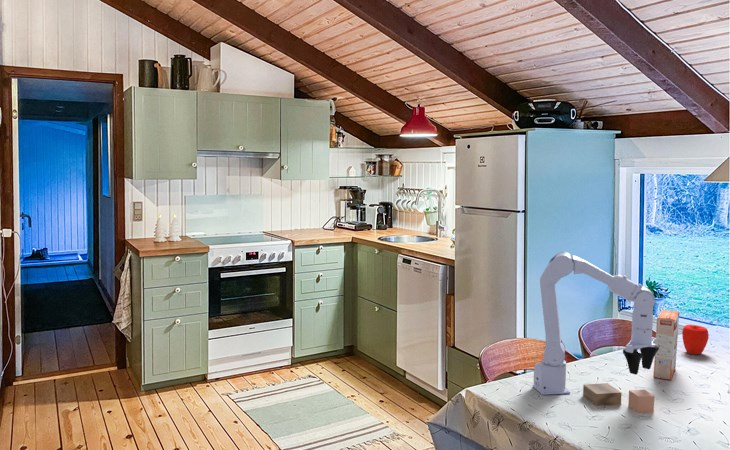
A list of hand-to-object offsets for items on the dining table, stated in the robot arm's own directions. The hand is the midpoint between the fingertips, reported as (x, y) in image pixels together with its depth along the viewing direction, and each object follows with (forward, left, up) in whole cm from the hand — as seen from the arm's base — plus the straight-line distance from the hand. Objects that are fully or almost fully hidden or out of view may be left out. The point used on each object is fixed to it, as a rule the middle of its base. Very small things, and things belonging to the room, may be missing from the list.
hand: (640, 371), depth 191 cm
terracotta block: (-4, -7, -9) cm, 12 cm away
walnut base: (-11, +1, -9) cm, 15 cm away
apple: (+47, +41, -9) cm, 64 cm away
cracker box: (+22, +21, -9) cm, 32 cm away
